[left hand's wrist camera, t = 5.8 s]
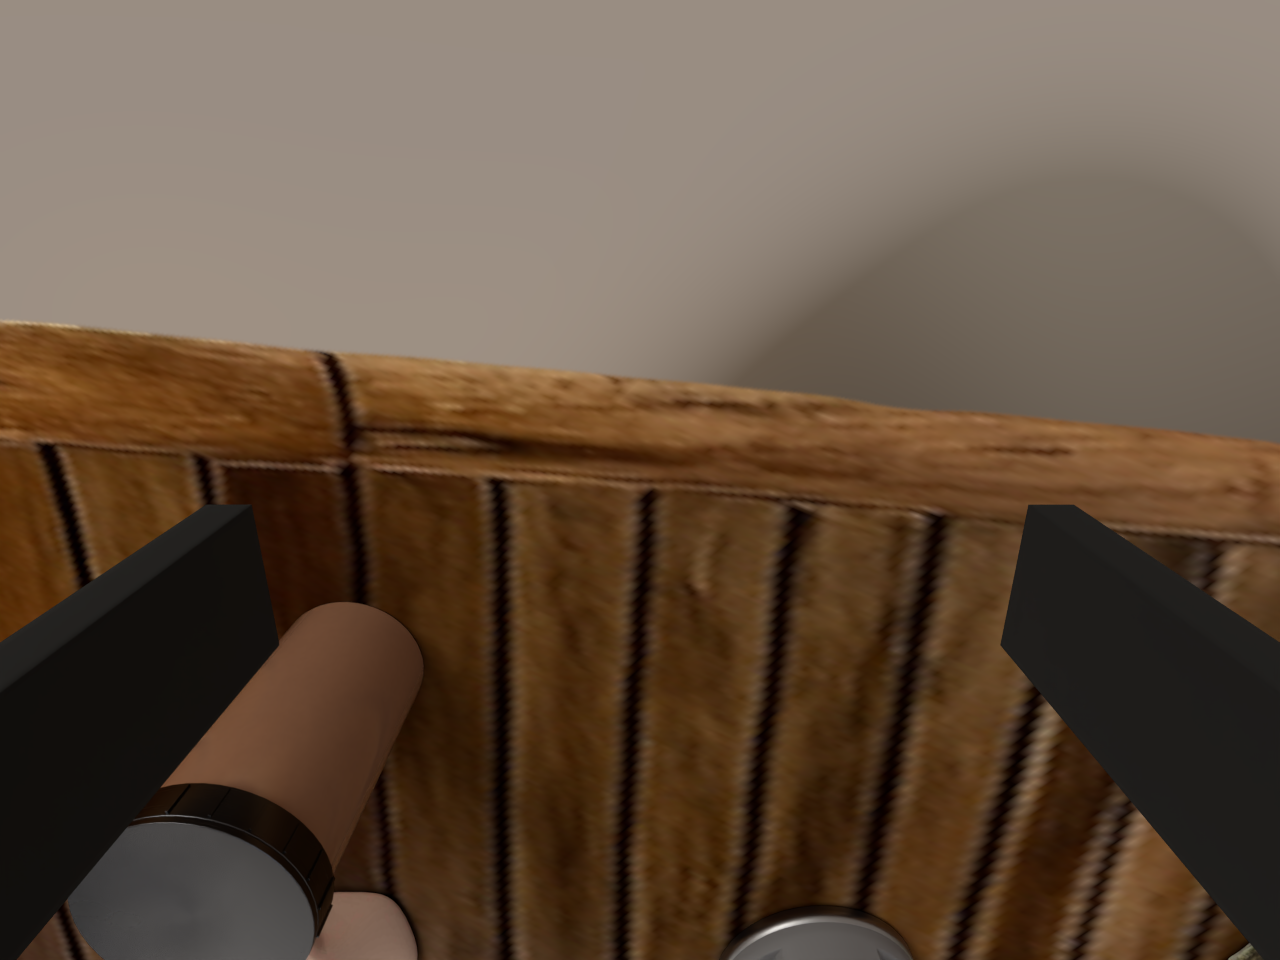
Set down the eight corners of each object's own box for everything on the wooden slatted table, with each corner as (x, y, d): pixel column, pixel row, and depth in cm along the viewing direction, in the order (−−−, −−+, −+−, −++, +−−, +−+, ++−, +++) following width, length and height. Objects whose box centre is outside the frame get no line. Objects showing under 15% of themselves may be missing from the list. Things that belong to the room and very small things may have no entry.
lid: (298, 980, 34) (277, 1027, 32) (81, 911, 32) (44, 957, 30) (366, 831, 31) (347, 874, 29) (129, 748, 29) (92, 787, 27)
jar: (397, 738, 48) (273, 1005, 32) (266, 689, 47) (68, 942, 30) (444, 634, 45) (335, 869, 29) (306, 579, 44) (112, 793, 28)
